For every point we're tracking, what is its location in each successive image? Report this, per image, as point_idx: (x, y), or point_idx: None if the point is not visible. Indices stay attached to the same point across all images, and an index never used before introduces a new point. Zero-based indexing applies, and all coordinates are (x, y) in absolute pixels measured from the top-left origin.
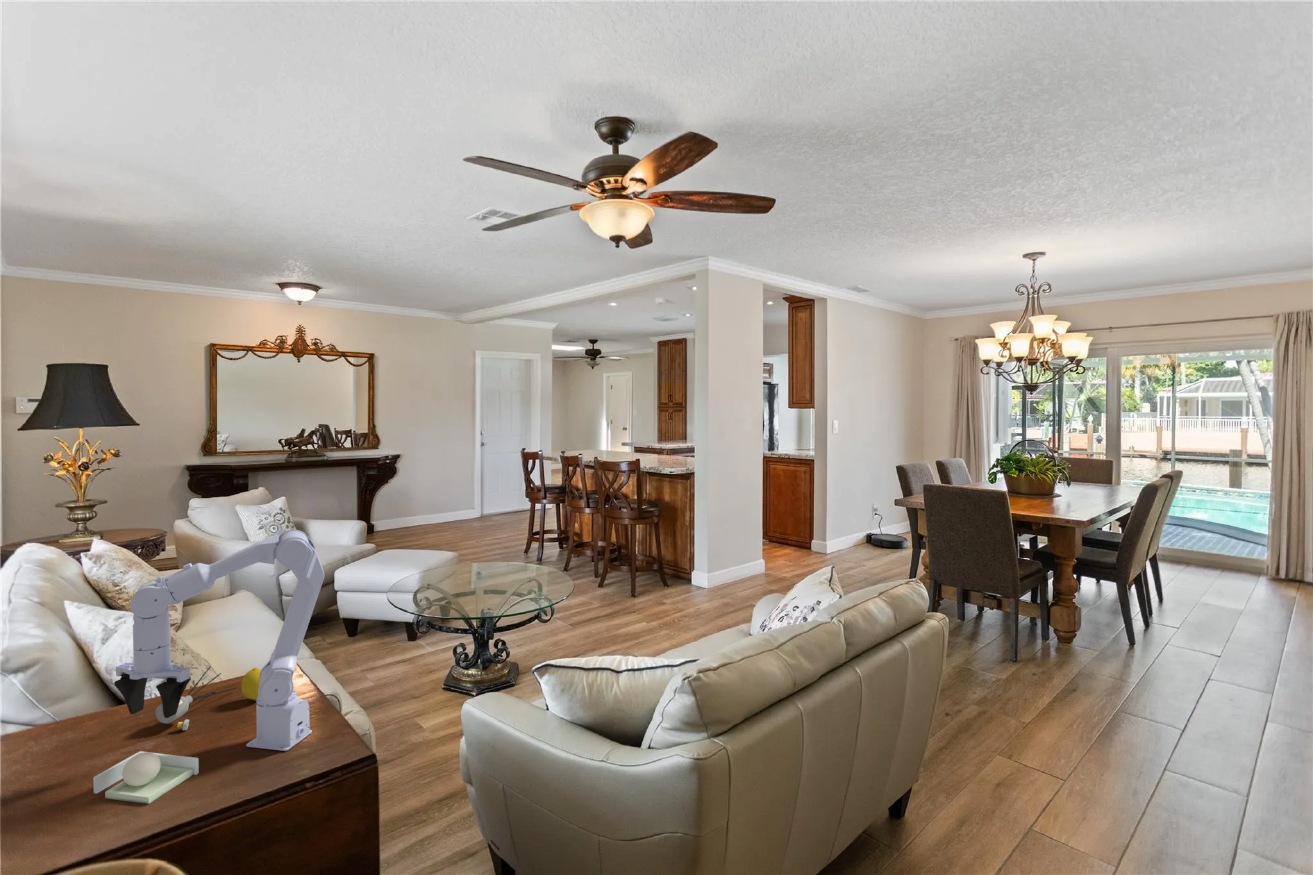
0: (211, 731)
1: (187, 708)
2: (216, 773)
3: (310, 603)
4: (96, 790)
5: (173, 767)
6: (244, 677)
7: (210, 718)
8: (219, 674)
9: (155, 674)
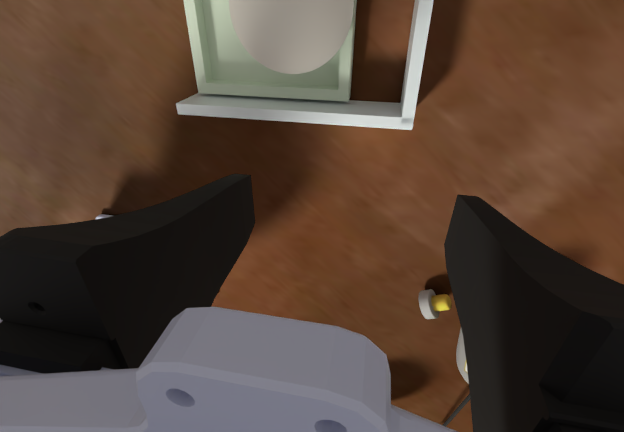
0: (352, 286)
1: (456, 356)
2: (156, 107)
3: None
4: None
5: (262, 93)
6: None
7: (405, 336)
8: None
9: (32, 409)
